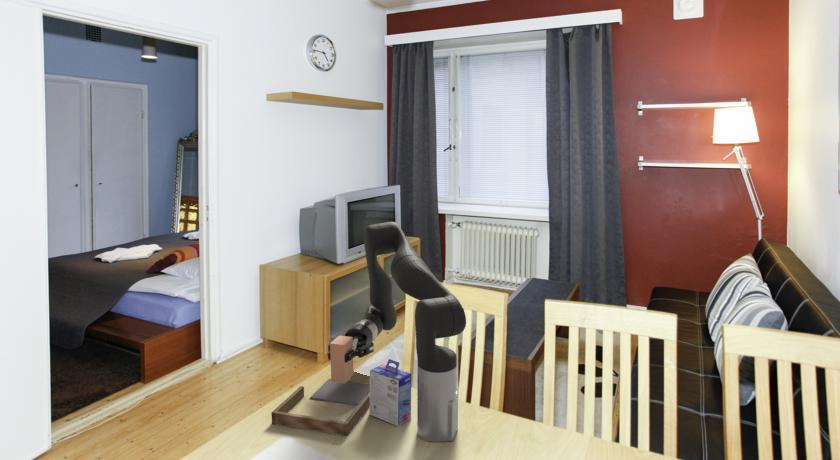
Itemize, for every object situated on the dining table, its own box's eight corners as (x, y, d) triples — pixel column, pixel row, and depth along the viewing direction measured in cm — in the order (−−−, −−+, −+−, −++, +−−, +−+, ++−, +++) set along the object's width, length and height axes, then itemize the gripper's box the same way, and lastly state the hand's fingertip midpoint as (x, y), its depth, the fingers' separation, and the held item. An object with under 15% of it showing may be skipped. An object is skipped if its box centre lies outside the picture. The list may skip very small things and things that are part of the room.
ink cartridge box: (412, 418, 140) (412, 364, 138) (398, 427, 136) (398, 371, 133) (383, 406, 146) (382, 354, 143) (368, 415, 142) (367, 361, 139)
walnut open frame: (369, 406, 146) (369, 395, 145) (347, 435, 132) (346, 424, 131) (300, 396, 151) (300, 386, 151) (271, 423, 137) (271, 412, 137)
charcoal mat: (374, 385, 158) (374, 384, 158) (358, 405, 146) (358, 404, 146) (329, 379, 161) (329, 378, 161) (310, 398, 150) (310, 397, 150)
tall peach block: (353, 374, 156) (352, 337, 154) (344, 383, 150) (343, 345, 148) (340, 372, 157) (339, 335, 155) (331, 381, 151) (330, 343, 149)
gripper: (339, 321, 167) (313, 342, 151) (383, 325, 163) (362, 347, 147) (339, 344, 168) (314, 368, 152) (384, 349, 164) (362, 374, 148)
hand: (337, 357), depth 149 cm, fingers closed on tall peach block, 4 cm apart
